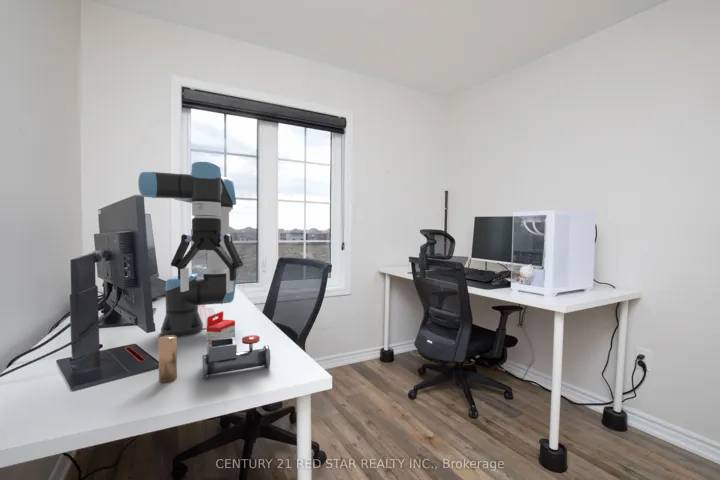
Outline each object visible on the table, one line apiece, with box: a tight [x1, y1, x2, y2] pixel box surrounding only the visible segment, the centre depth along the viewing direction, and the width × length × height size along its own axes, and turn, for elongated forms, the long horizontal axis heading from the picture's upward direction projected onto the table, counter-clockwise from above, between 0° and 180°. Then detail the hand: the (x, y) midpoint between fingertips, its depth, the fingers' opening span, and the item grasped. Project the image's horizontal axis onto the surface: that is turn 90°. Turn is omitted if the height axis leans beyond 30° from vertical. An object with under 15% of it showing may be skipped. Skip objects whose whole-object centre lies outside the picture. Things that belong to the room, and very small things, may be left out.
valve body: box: [202, 334, 271, 380], centre depth 95 cm, size 18×7×10 cm, turn 116°
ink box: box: [206, 311, 236, 357], centre depth 105 cm, size 8×5×15 cm, turn 168°
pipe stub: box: [157, 335, 178, 384], centre depth 90 cm, size 4×4×12 cm
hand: (207, 291), depth 92 cm, fingers open, 13 cm apart
